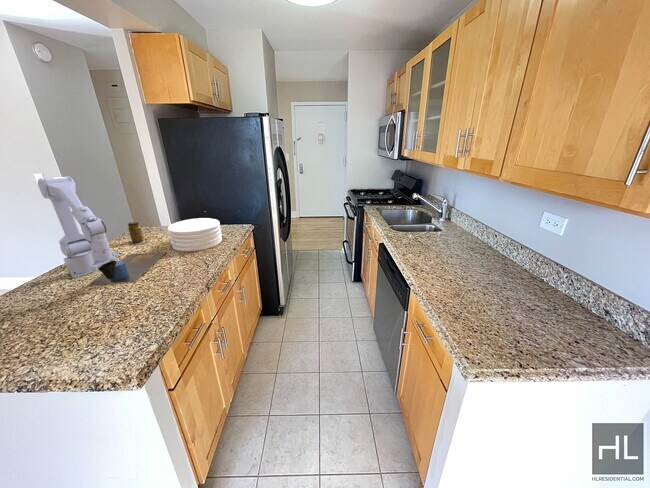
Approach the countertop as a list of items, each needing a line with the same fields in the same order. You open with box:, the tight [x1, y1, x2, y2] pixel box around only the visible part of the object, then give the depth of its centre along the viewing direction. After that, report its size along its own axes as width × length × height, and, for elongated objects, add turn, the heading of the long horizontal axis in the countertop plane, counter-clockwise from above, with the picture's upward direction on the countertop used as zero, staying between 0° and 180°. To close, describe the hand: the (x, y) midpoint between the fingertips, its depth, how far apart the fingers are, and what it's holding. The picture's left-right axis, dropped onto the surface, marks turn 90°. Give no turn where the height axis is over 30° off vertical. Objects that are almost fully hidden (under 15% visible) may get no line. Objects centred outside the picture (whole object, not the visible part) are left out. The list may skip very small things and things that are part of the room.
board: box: [89, 252, 167, 285], centre depth 127 cm, size 32×18×1 cm, turn 8°
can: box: [111, 260, 128, 280], centre depth 116 cm, size 7×7×6 cm
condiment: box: [127, 221, 146, 246], centre depth 157 cm, size 7×8×12 cm
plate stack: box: [167, 217, 223, 252], centre depth 156 cm, size 28×28×12 cm
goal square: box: [130, 254, 156, 262], centre depth 136 cm, size 9×9×1 cm
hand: (110, 278), depth 112 cm, fingers closed
